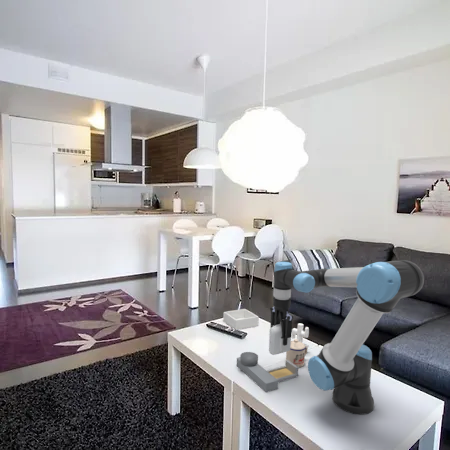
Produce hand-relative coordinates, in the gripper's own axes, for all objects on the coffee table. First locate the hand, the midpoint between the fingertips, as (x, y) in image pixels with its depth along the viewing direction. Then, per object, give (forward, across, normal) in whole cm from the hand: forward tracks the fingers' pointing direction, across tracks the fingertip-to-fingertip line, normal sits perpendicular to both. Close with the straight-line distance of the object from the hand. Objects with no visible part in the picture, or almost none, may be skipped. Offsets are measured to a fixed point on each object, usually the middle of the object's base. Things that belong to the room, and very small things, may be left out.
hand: (279, 348), depth 147 cm
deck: (+12, +4, +3) cm, 13 cm away
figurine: (+13, +14, -24) cm, 30 cm away
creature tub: (+13, +60, -16) cm, 63 cm away
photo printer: (+1, 0, 0) cm, 1 cm away
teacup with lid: (+13, +6, -16) cm, 21 cm away
